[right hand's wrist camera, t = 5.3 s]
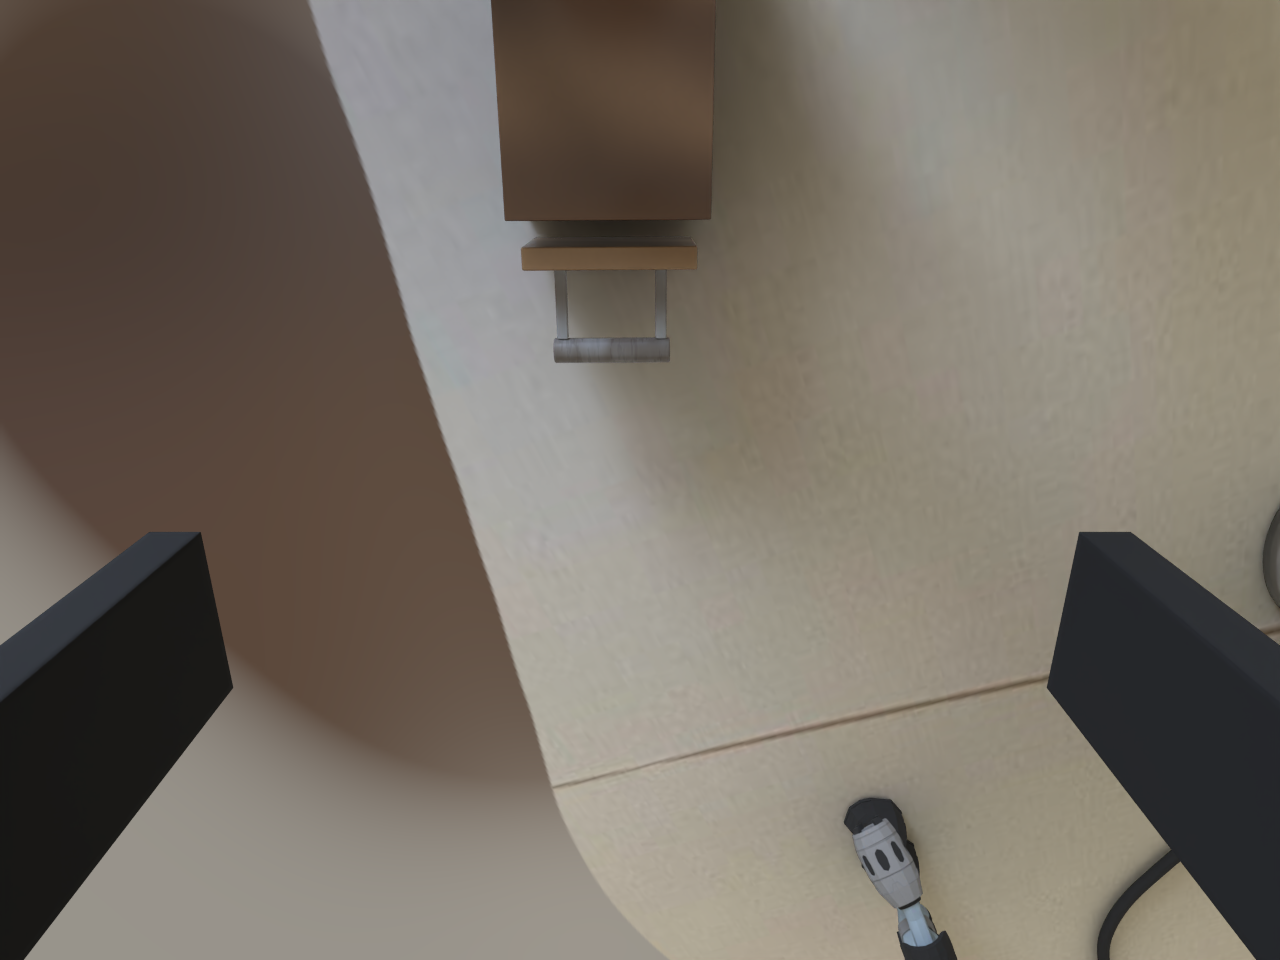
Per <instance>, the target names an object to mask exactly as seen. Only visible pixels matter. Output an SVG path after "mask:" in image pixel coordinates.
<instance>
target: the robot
mask: <svg viewBox="0 0 1280 960" xmlns="http://www.w3.org/2000/svg"><path fill="white" fill-rule="evenodd" d="M844 824H845V825H846V826H847V827H848V828H849V830H850V831H851V832H852V833H853V835H852V836H853V841H854V845H855V849H856V852H857V854H858V857H859V859H860V861H861V863H862V868H864V870H865V871H866V873H867V875H868V877H869V878H870V880H871V881H872V883H873V884H874V886H875V887H876V890H877V891H878V892H879V893H880V894H881V895H882V896H883V897H884V898H885V899H886V900H887V901H888V902H889V903H890V904H891V905H892V906H893V907H894V908H897V910H898V922H899V924H898V930H899V932H897V934H898V938H899V942H900V947H901V949H902V952H903V955H904V958H905V960H957V957H956V954H955V952H954V949H953V946H952V943H951V941H950V938H949V936H948V934H947V932H946V931H942V932H941V933H940V934H939V935H938V934H937V931H936V928H935V926H934V924H933V922H932V918H931V915H930V913H929V911H928V910H927V909H926V908H925V907H924V906H923V905H921V904H920V902H919V901H920V900H921V897H920V896H921V895H922V894H923V892H922V887H921V882H920V875H919V862H918V857H917V856H916V852H915V849H914V844H913V843H912V842H910V841H908V840H907V835H906V826H905V823H904V820H903V817H902V812H901V810H900V809H899V808H898V807H897V806H896V805H895V804H894V803H893V802H892V800H888V799H876V798H868V799H863V800H860V801H858V802H857V803H855V804H854V805H852V806H851V807H849V809H848V812H847V815H846V817H845V820H844Z"/></svg>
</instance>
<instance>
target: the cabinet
mask: <svg viewBox="0 0 1280 960" xmlns="http://www.w3.org/2000/svg"><path fill="white" fill-rule="evenodd" d="M491 8H492V24H493V40H494V56H495V71H496V87H497V103H498V119H499V135H500V151H501V167H502V183H503V199H504V215H505V221H573V220H709V219H711V196H712V151H713V107H714V62H715V18H716V0H491Z"/></svg>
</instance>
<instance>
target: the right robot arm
mask: <svg viewBox="0 0 1280 960" xmlns="http://www.w3.org/2000/svg"><path fill="white" fill-rule="evenodd" d="M1263 572H1264V578H1265V582H1266V585H1267V588H1268V590H1269V592H1270V594H1271V597H1272V598H1273V600H1274V601H1275V603H1276V604H1277V605H1278V606H1279V607H1280V508H1279V510H1278V512H1277V513H1276V515H1275V517H1274V519H1273V521H1272V523H1271V526H1270V529H1269V531H1268V534H1267V538H1266V541H1265V546H1264V552H1263ZM232 689H233V684H232V680H231V675H230V670H229V665H228V661H227V656H226V651H225V646H224V641H223V637H222V632H221V627H220V622H219V617H218V613H217V608H216V603H215V598H214V594H213V589H212V584H211V579H210V574H209V570H208V565H207V560H206V555H205V550H204V546H203V541H202V536H201V532H149V533H147V534H146V535H145V536H144V537H142V538H141V539H140V540H138V541H137V542H136V543H134V544H133V545H132V546H130V547H129V548H128V549H126V550H125V551H124V552H123V553H121V554H120V555H119V556H117V557H116V558H115V559H113V560H112V561H111V562H109V563H108V564H107V565H105V566H104V567H103V568H101V569H100V570H99V571H98V572H96V573H95V574H94V575H92V576H91V577H90V578H88V579H87V580H86V581H84V582H83V583H82V584H80V585H79V586H78V587H76V588H75V589H74V590H73V591H71V592H70V593H69V594H67V595H66V596H65V597H63V598H62V599H61V600H59V601H58V602H57V603H55V604H54V605H53V606H51V607H50V608H49V609H48V610H46V611H45V612H44V613H42V614H41V615H40V616H38V617H37V618H36V619H34V620H33V621H32V622H30V623H29V624H28V625H26V626H25V627H24V628H23V629H21V630H20V631H19V632H17V633H16V634H15V635H13V636H12V637H11V638H9V639H8V640H7V641H5V642H4V643H3V644H2V645H0V960H24V959H25V957H26V956H27V955H28V954H29V952H30V951H31V950H32V948H33V947H34V946H35V944H36V943H37V942H38V941H39V939H40V938H41V937H42V935H43V934H44V933H45V931H46V930H47V929H48V928H49V926H50V925H51V924H52V922H53V921H54V920H55V918H56V917H57V916H58V915H59V913H60V912H61V911H62V909H63V908H64V907H65V905H66V904H67V903H68V902H69V900H70V899H71V898H72V896H73V895H74V894H75V893H76V891H77V890H78V888H79V887H80V886H81V885H82V883H83V882H84V881H85V880H86V878H87V877H88V876H89V874H90V873H91V872H92V870H93V869H94V868H95V866H96V865H97V864H98V863H99V861H100V860H101V859H102V857H103V856H104V855H105V853H106V852H107V851H108V850H109V848H110V847H111V846H112V844H113V843H114V842H115V841H116V839H117V838H118V837H119V835H120V834H121V833H122V831H123V830H124V829H125V828H126V826H127V825H128V824H129V822H130V821H131V820H132V818H133V817H134V816H135V815H136V813H137V812H138V811H139V809H140V808H141V807H142V805H143V804H144V803H145V802H146V800H147V799H148V798H149V796H150V795H151V794H152V792H153V791H154V790H155V789H156V787H157V786H158V785H159V783H160V782H161V781H162V779H163V778H164V777H165V776H166V774H167V773H168V772H169V770H170V769H171V768H172V766H173V765H174V764H175V763H176V761H177V760H178V759H179V757H180V756H181V755H182V753H183V752H184V751H185V750H186V748H187V747H188V746H189V744H190V743H191V742H192V741H193V739H194V738H195V737H196V735H197V734H198V733H199V731H200V730H201V729H202V728H203V726H204V725H205V724H206V722H207V721H208V720H209V718H210V717H211V716H212V715H213V713H214V712H215V710H216V709H217V708H218V707H219V705H220V704H221V703H222V702H223V700H224V699H225V698H226V696H227V695H228V694H229V692H230V691H231V690H232ZM1047 689H1048V690H1049V691H1050V692H1051V694H1052V695H1053V696H1054V698H1055V699H1056V700H1057V702H1058V703H1059V704H1060V705H1061V707H1062V708H1063V709H1064V711H1065V712H1066V713H1067V715H1068V716H1069V717H1070V718H1071V720H1072V721H1073V722H1074V724H1075V725H1076V726H1077V728H1078V729H1079V730H1080V731H1081V733H1082V734H1083V735H1084V737H1085V738H1086V739H1087V741H1088V742H1089V743H1090V744H1091V746H1092V747H1093V748H1094V750H1095V751H1096V752H1097V753H1098V755H1099V756H1100V757H1101V759H1102V760H1103V761H1104V763H1105V764H1106V765H1107V766H1108V768H1109V769H1110V770H1111V772H1112V773H1113V774H1114V776H1115V777H1116V778H1117V779H1118V781H1119V782H1120V783H1121V785H1122V786H1123V787H1124V789H1125V790H1126V791H1127V792H1128V794H1129V795H1130V796H1131V798H1132V799H1133V800H1134V802H1135V803H1136V804H1137V805H1138V807H1139V808H1140V809H1141V811H1142V812H1143V813H1144V815H1145V816H1146V817H1147V818H1148V820H1149V821H1150V822H1151V824H1152V825H1153V826H1154V828H1155V829H1156V830H1157V831H1158V833H1159V834H1160V835H1161V837H1162V838H1163V839H1164V841H1165V842H1166V843H1167V844H1168V846H1169V847H1170V848H1171V851H1170V852H1168V853H1167V854H1166V855H1165V856H1164V857H1163V858H1161V859H1160V860H1159V861H1158V862H1157V863H1156V864H1155V865H1153V866H1152V867H1151V868H1150V869H1149V870H1148V871H1146V872H1145V873H1144V874H1143V875H1142V876H1141V877H1140V878H1139V879H1138V880H1136V881H1135V882H1134V883H1133V884H1132V885H1131V886H1130V887H1129V888H1128V889H1127V890H1126V891H1125V892H1124V893H1123V895H1122V896H1121V897H1120V898H1119V899H1118V901H1117V902H1116V903H1115V904H1114V906H1113V907H1112V909H1111V910H1110V912H1109V914H1108V915H1107V917H1106V919H1105V921H1104V923H1103V925H1102V928H1101V930H1100V933H1099V937H1098V944H1097V955H1098V960H1110V958H1109V950H1110V944H1111V940H1112V937H1113V934H1114V932H1115V930H1116V928H1117V926H1118V924H1119V923H1120V921H1121V919H1122V918H1123V916H1124V915H1125V913H1126V912H1127V911H1128V909H1129V908H1130V907H1131V906H1132V905H1133V904H1134V902H1135V901H1136V900H1137V899H1138V898H1139V897H1140V896H1141V895H1142V894H1143V893H1144V892H1145V891H1147V890H1148V889H1149V888H1150V887H1151V886H1152V885H1153V884H1154V883H1156V882H1157V881H1158V880H1159V879H1160V878H1161V877H1162V876H1164V875H1165V874H1166V873H1167V872H1168V871H1169V870H1171V869H1172V868H1173V867H1174V866H1175V865H1176V864H1178V863H1179V862H1180V861H1181V863H1182V864H1183V865H1184V867H1185V868H1186V869H1187V870H1188V872H1189V873H1190V874H1191V876H1192V877H1193V878H1194V880H1195V881H1196V882H1197V883H1198V885H1199V886H1200V887H1201V889H1202V890H1203V891H1204V893H1205V894H1206V895H1207V896H1208V898H1209V899H1210V900H1211V902H1212V903H1213V904H1214V906H1215V907H1216V908H1217V909H1218V911H1219V912H1220V913H1221V915H1222V916H1223V917H1224V918H1225V920H1226V921H1227V922H1228V924H1229V925H1230V926H1231V928H1232V929H1233V930H1234V931H1235V933H1236V934H1237V935H1238V937H1239V938H1240V939H1241V941H1242V942H1243V943H1244V944H1245V946H1246V947H1247V948H1248V950H1249V951H1250V952H1251V954H1252V955H1253V956H1254V957H1255V959H1256V960H1280V645H1279V644H1277V643H1276V642H1275V641H1273V640H1272V639H1271V638H1269V637H1268V636H1267V635H1265V634H1264V633H1263V632H1261V631H1260V630H1259V629H1257V628H1256V627H1255V626H1254V625H1252V624H1251V623H1250V622H1248V621H1247V620H1246V619H1244V618H1243V617H1242V616H1240V615H1239V614H1238V613H1236V612H1235V611H1234V610H1232V609H1231V608H1230V607H1229V606H1227V605H1226V604H1225V603H1223V602H1222V601H1221V600H1219V599H1218V598H1217V597H1215V596H1214V595H1213V594H1211V593H1210V592H1209V591H1207V590H1206V589H1205V588H1204V587H1202V586H1201V585H1200V584H1198V583H1197V582H1196V581H1194V580H1193V579H1192V578H1190V577H1189V576H1188V575H1186V574H1185V573H1184V572H1182V571H1181V570H1180V569H1179V568H1177V567H1176V566H1175V565H1173V564H1172V563H1171V562H1169V561H1168V560H1167V559H1165V558H1164V557H1163V556H1161V555H1160V554H1159V553H1157V552H1156V551H1155V550H1154V549H1152V548H1151V547H1150V546H1148V545H1147V544H1146V543H1144V542H1143V541H1142V540H1140V539H1139V538H1138V537H1136V536H1135V535H1134V534H1133V533H1131V532H1079V536H1078V541H1077V546H1076V550H1075V555H1074V560H1073V565H1072V570H1071V574H1070V579H1069V584H1068V589H1067V593H1066V598H1065V603H1064V608H1063V613H1062V617H1061V622H1060V627H1059V632H1058V637H1057V641H1056V646H1055V651H1054V656H1053V660H1052V665H1051V670H1050V675H1049V680H1048V684H1047Z"/></svg>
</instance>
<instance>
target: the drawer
mask: <svg viewBox="0 0 1280 960" xmlns="http://www.w3.org/2000/svg"><path fill="white" fill-rule="evenodd" d="M521 257H522V270H524V271H549V270H554V272H555V295H556V318H557V338H555V339H554V360H555V362H556V363H607V362H669V361H670V339H669V338H668V337H666V270H690V269H697V246H696V244H695V243H694V241H693V239H692V238H691V237H554V238H534V239H533V240H531V241H530V242H529V243H527V244H526V245H525V246H523V247H522V248H521ZM566 270H655V338H568V337H569V329H568V303H567V277H566Z"/></svg>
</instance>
